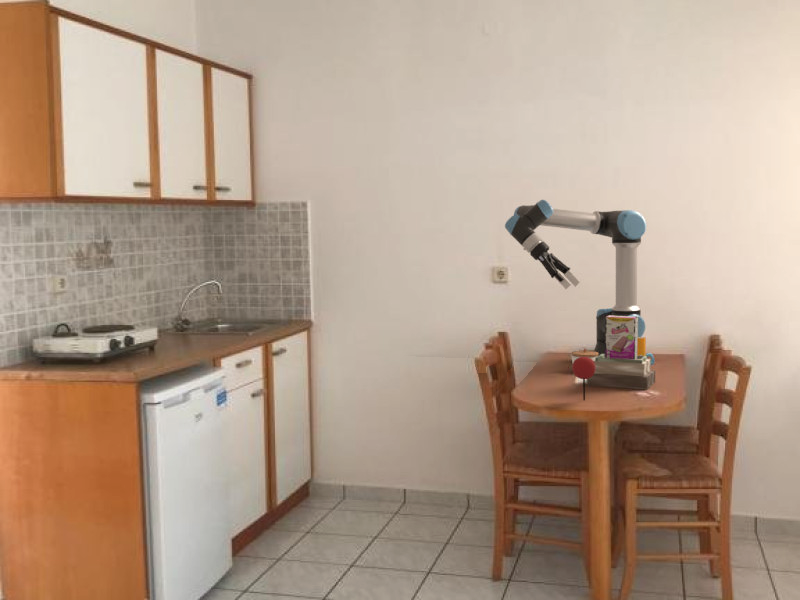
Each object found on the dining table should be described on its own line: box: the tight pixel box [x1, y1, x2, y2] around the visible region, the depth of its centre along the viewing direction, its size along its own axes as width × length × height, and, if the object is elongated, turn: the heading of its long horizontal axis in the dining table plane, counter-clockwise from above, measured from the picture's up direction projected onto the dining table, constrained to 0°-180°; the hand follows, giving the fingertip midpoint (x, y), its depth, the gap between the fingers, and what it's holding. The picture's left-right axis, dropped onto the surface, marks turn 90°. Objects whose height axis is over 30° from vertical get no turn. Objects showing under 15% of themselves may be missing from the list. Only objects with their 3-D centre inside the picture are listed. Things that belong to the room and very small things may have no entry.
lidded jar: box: [571, 348, 599, 364], centre depth 371 cm, size 11×11×9 cm
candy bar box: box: [605, 315, 638, 360], centre depth 342 cm, size 11×5×16 cm, turn 65°
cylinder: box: [637, 336, 655, 366], centre depth 360 cm, size 12×10×15 cm
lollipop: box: [571, 357, 595, 401], centre depth 314 cm, size 8×8×15 cm
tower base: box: [586, 354, 656, 391], centre depth 343 cm, size 16×22×10 cm
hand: (573, 285), depth 359 cm, fingers open, 13 cm apart
